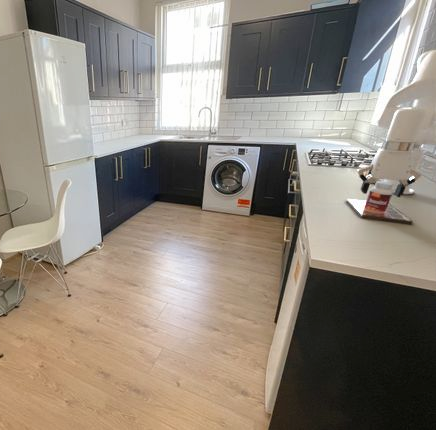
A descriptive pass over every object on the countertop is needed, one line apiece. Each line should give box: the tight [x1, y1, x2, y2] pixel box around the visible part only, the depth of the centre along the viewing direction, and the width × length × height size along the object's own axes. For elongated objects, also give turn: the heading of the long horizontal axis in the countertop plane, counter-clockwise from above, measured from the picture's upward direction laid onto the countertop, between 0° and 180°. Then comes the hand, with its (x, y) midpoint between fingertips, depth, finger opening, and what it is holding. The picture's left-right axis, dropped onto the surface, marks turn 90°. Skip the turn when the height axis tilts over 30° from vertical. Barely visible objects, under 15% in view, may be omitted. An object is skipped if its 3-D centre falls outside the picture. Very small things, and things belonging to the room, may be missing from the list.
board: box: [346, 198, 414, 225], centre depth 107 cm, size 20×14×1 cm
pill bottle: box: [364, 180, 394, 214], centre depth 102 cm, size 6×6×11 cm
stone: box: [364, 171, 382, 184], centre depth 145 cm, size 10×7×10 cm
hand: (380, 194), depth 102 cm, fingers open, 9 cm apart
